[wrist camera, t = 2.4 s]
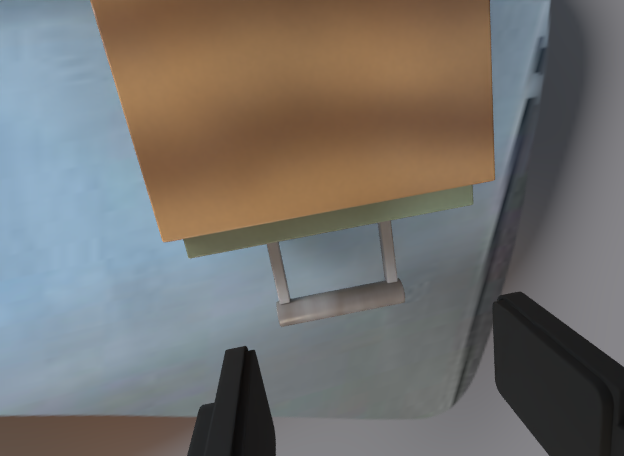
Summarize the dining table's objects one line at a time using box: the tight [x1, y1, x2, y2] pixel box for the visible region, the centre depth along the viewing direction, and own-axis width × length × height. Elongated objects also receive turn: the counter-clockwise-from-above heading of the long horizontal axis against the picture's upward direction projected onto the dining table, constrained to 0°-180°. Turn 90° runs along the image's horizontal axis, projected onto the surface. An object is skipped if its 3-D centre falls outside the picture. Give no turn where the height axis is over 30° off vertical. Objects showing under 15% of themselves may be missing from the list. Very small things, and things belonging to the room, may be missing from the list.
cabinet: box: [90, 0, 495, 242], centre depth 18 cm, size 17×15×9 cm
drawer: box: [183, 185, 473, 327], centre depth 20 cm, size 21×13×7 cm, turn 10°
